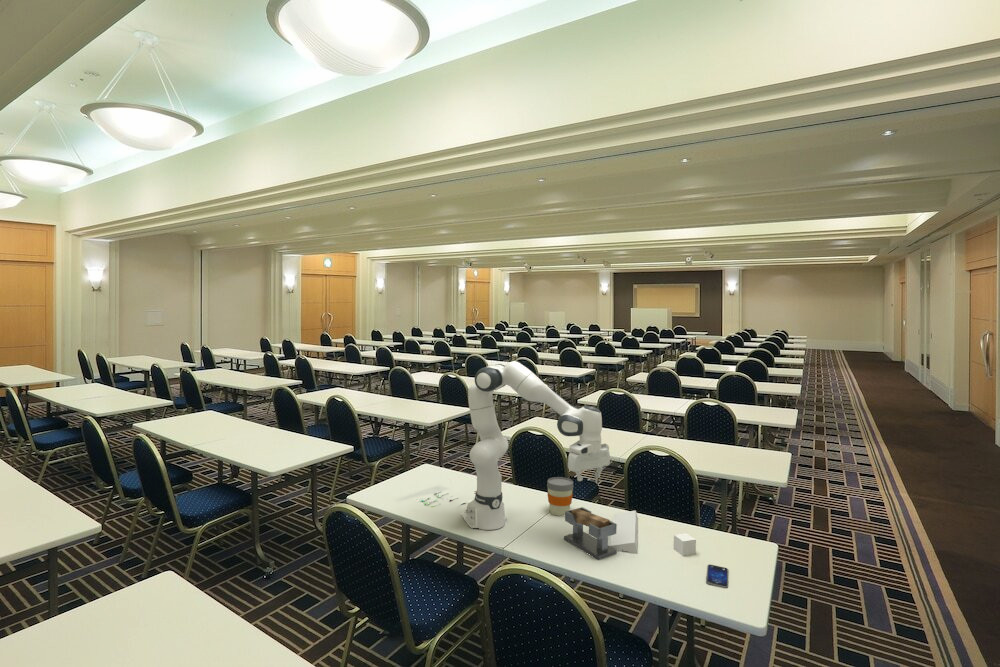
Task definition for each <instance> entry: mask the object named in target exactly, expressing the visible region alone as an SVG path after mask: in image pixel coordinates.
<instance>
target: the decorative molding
mask: <svg viewBox="0 0 1000 667" xmlns="http://www.w3.org/2000/svg"><path fill="white" fill-rule="evenodd" d="M612 522H613V523H615V524H617V528H616V534H615V535H611V536H610V544H609V546H610V547H612V548H614V549H616V550H617V552H622V551H623V552H628V553H630V554H638V545H639V543H638V542H639V540H638V538H639V536H638V535H639V517H638V513H637V511H636V510H631V511H624V512H617V513H616V512H615V513H614V516H613V521H612Z"/></svg>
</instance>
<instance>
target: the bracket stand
mask: <svg viewBox="0 0 1000 667" xmlns="http://www.w3.org/2000/svg"><path fill="white" fill-rule="evenodd" d="M575 509H576V508H573V509H570V510H569V511H565V516H564V522H567V523H568V524H569V525H572V533H570V534H567V535H566V534H565V535H563V540H564V541H566V542H567V543H569V544H571V545H572V546H574V547H576V548H577V549H579V550H580V551H582V550H583V551H582V552H584V553H586V554H587V553H588V554H587V555H589V554H590V555H589V556H590V557H592V556H593V557H592V558H594V559H596V560H597V561H599V560H603V559H604V558H608V557H611V556H614V555H616V554H617V552H618V551H617V550H616V549H614V548H612V547H610V544H609V537H611V535H615V534H616V528H617V524H615V523H613V521H611V520H610V525H609V526H605V527H602V528H598V527H597V526H595V525H593V524H589V527H588V533H587V532H585V531H584V525H583V524H580V523H577V522H576V515H574V514H572V510H575ZM578 509H581V510H584V511H586V512H589V513H592V511H591V510H589V509H587V508H586V507H583V506H581V507H578Z"/></svg>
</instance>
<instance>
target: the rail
mask: <svg viewBox="0 0 1000 667" xmlns="http://www.w3.org/2000/svg"><path fill="white" fill-rule="evenodd" d="M578 508H579V507H578ZM578 508H574V509H575V510H573V509H571V510H572V514H574V515H576V522H577V523H580V524H583V526H586V527H588V528H589V524H593V525H595V526H597V527H598V528H602V527H605V526H609V525H610V521H611V520H610V519H608V518H605V517H602V516H600V515H598V514H595V513H592V512H591V513H589V512H586V511H584V510H581V509H578Z"/></svg>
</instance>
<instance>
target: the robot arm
mask: <svg viewBox="0 0 1000 667" xmlns="http://www.w3.org/2000/svg"><path fill="white" fill-rule="evenodd" d="M505 386H509V387H510V388H511V389H512V390H513V391H515V392H516V393H517V394H518V395H519V396H520V397H521V398H522V399H524V400H525V401H528V402H533V403H534V402H535V403H542V404H545V405H547V406H548V407H550V408H551V409H552V410H553V411H555V412H556V413H557V414H558V415H560V416H559V418H558V419H557V421H556V428H557V430H558V432H559V433H560V434H562V435H563V436H565V437H579V440H577V441H576V442H574V443H572V444H570V445H569V448H568V449H569V451H570V452H569V454H568V458H567V468H568V470H569V471H571V472H573V473H575V474H576V478H577V479H576V480H577V482H582V481H583V479H584V477H583V476H582V475H581V474H582V472H583V471H587V470H592V469H593V470H594V469H596V472H594V478H600V477H601V473H602V471H603V469H604V467H608V466H609V465H610V463H611V457H610V456H611V455H610V447H609V445H608V444H607V443H602V436H601V435H602V434H601V433H602V429H603V419H602V412H601V411H600V409H599V408H597V407H595V406H591V405H583V406H582V407H577V406H574V405H572V404H570V403H569V402H568V401H566V399H564V398H563V397H562V396H560V395H559V394H558V393H556V392H555V391H554V390H552V389H551V388H550V387H549V386H548V385H547V384H545V382H543V380H542V379H540V378H539V377H538V376H537V375H536V373H534V372H533V371H532V370H530V369H529V368H528V367H526V365H523V364H522V363H521V362H519V361H517V360H512V361H510V362H508V363H507V364H505V365H504V364H502V363H496V364H495V363H494V364H489V365H487V366H485V367H482V368H480V369H479V370H478V371H477V372H476V373H475V376H474V383H473V384H471V385H470V386H469V388H468V391H467V392H468V393H467V398H468V407H469V415H470V418H471V419H470V420H471V425H472V427H473V428H474V429H475V431H476V432H477V433H478V437H479V438H480V441H478V442H476V443H475V444H474V445H473V446H472V447H471V449H470V451H469V460H470V462H471V463H472V464H473V466H474V469H475V472H476V491H473V492H474V494H475V495H474V500H472V501H471V502H469V503H467V504H466V509H465V512H462V513H461V518H462V517H463V518H464V519H463V518H462V519H463V521H464V522H465V521H466V522H467V523H468V524H467V523H466V522H465V523H466V524H467V526H468V525H469V526H470V527H471V528H470V527H469V526H468V527H469V528H470V529H473V528H479V529H478V530H484V531H490V530H491V531H493V530H498V529H501V528H503V527H504V526H505V525H506V524H505V523H506V521H507V520H508V518H507V516H505V515H506V514H505V503H504V502H503V492H502V477H503V476H502V473H501V472H499V467H498V462H499V460H500V459H501V458H502V457H504V456H505V454H506V453H507V451H508V449H509V441H508V439H507V437H506V436H504V435H503V433H502V430H501V428H500V426H499V423H498V420H497V414H496V410H495V404H494V400H493V395H494V394H493V393H494V392H495V391H498V390H500V389H501V388H504V387H505Z"/></svg>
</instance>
